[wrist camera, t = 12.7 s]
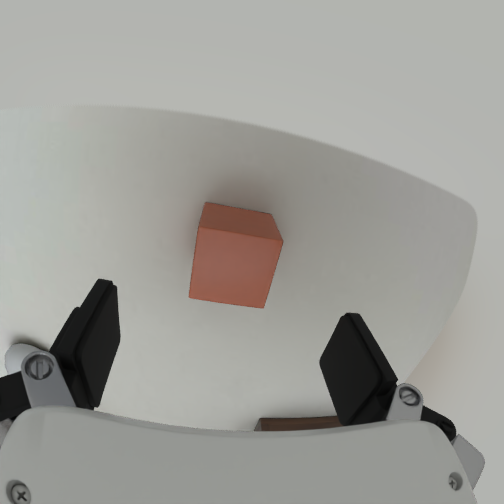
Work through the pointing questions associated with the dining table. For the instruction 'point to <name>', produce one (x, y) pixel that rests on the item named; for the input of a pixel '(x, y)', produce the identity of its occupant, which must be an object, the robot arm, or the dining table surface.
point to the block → (234, 256)
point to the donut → (17, 356)
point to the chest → (297, 424)
